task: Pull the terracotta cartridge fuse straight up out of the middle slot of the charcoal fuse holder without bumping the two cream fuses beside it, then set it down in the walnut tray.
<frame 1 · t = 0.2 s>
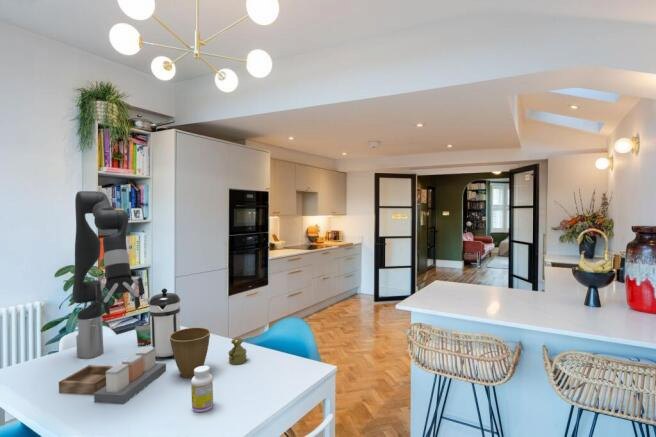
hand: (122, 311, 125), 31 cm above the table, tool tilted 20°, fingers open, 8 cm apart
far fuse: (146, 375, 145), resting in fuse holder
fuse holder: (133, 385, 137), on the table
food container: (150, 343, 180), on the table
tray: (91, 384, 138), on the table
coffee press: (165, 355, 165), on the table
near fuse: (118, 396, 129), resting in fuse holder
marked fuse: (132, 371, 137), in the fuse holder
supplement bottle: (202, 408, 121), on the table
olive green lumpy piece: (237, 361, 157), on the table
plant pot: (191, 374, 146), on the table
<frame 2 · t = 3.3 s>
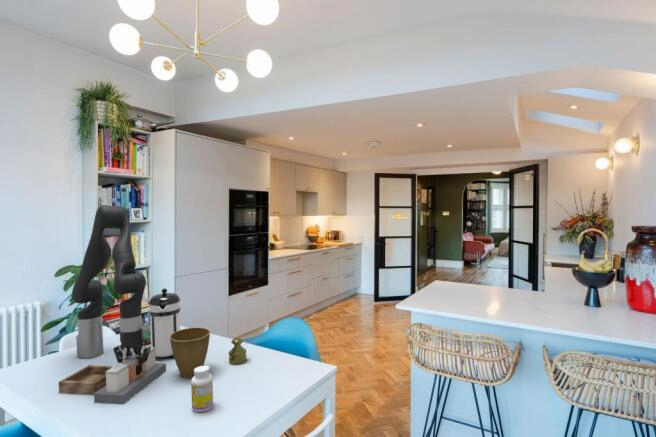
hand: (132, 373, 137), 4 cm above the table, tool pointing down, fingers closed on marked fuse, 4 cm apart
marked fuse: (132, 371, 137), in the fuse holder, touching gripper
everything else where it was.
when the fingers open (7 cm above the table, at t = 9.3 s): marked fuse drops 1 cm, resting on tray.
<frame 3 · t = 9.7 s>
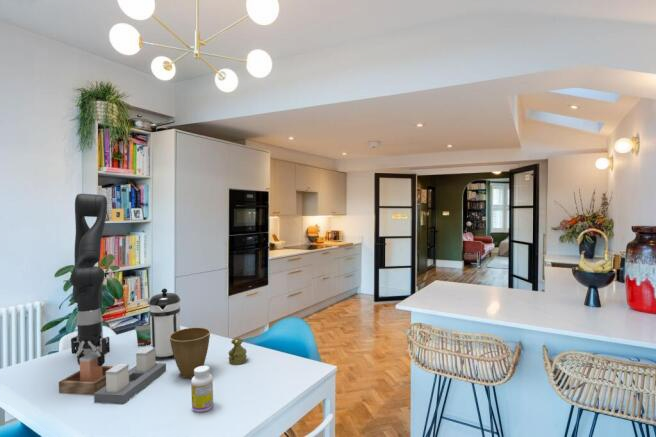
hand: (91, 364, 138), 7 cm above the table, tool pointing down, fingers open, 7 cm apart
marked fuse: (91, 368, 138), in the tray, point 6 cm above the table
everything else where it was.
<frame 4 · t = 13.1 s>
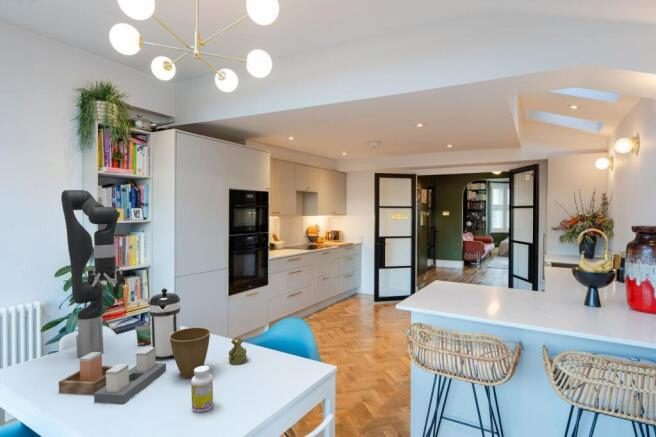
hand: (106, 295, 151), 30 cm above the table, tool pointing down, fingers open, 8 cm apart
nothing on the table moved.
at the end: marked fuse inside the target area on the tray (0.0 cm from its centre), point 6.0 cm above the tray's base; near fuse moved 0.0 cm from its start; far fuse moved 0.0 cm from its start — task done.
